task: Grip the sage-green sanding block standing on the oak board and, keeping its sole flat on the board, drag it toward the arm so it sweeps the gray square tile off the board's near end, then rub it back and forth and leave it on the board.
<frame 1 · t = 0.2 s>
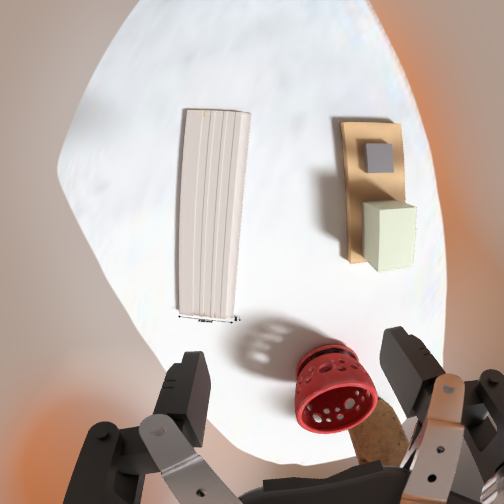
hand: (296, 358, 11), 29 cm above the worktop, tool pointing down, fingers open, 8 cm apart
sanding block: (379, 227, 37), point 1 cm above the worktop, touching oak board
baseboard: (216, 219, 39), on the worktop
plant pot: (323, 363, 47), on the worktop
oak board: (374, 191, 37), on the worktop
block: (366, 409, 53), on the worktop
gray square tile: (376, 157, 34), point 1 cm above the worktop, touching oak board
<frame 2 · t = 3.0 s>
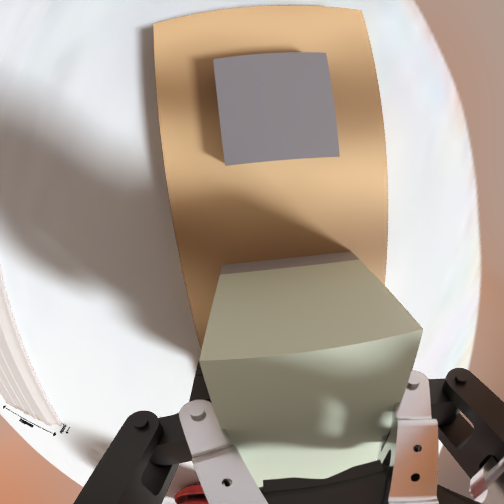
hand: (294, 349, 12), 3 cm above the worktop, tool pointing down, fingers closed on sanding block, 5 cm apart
sanding block: (292, 336, 13), point 1 cm above the worktop, touching gripper, oak board
plant pot: (223, 493, 23), on the worktop
oak board: (282, 226, 13), on the worktop
gray square tile: (274, 109, 10), point 1 cm above the worktop, touching oak board
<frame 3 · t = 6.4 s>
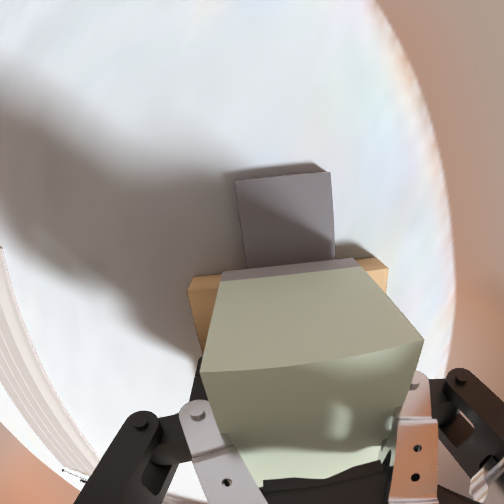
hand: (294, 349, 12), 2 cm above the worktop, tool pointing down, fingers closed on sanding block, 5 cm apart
sanding block: (293, 342, 13), point 2 cm above the worktop, touching gripper
baseboard: (43, 394, 19), on the worktop
oak board: (293, 405, 16), on the worktop
gray square tile: (285, 217, 13), on the worktop
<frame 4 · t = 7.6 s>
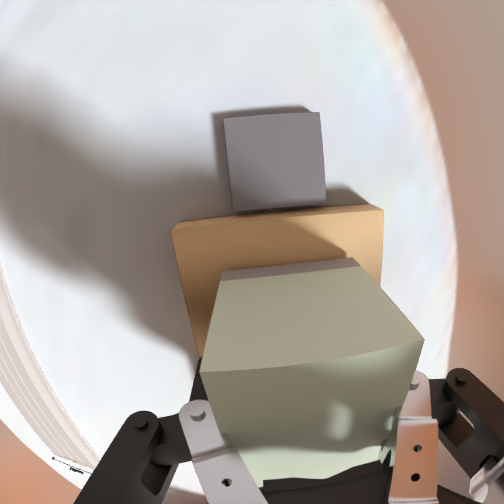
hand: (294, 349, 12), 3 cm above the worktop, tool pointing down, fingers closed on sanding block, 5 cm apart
sanding block: (293, 342, 13), point 2 cm above the worktop, touching gripper
baseboard: (28, 370, 18), on the worktop
oak board: (288, 376, 16), on the worktop
gray square tile: (274, 160, 12), on the worktop
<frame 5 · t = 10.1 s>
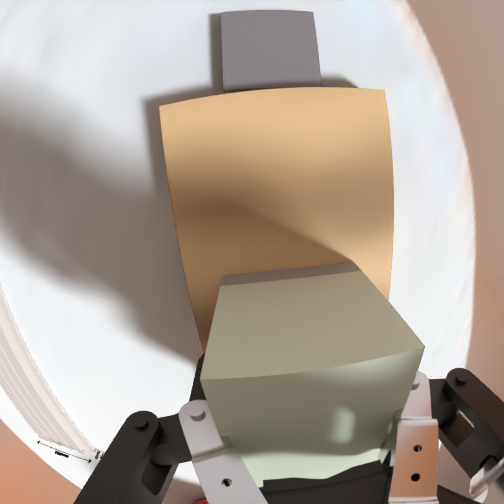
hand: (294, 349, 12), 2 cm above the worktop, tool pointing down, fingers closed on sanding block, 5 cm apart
sanding block: (293, 346, 13), point 2 cm above the worktop, touching gripper
baseboard: (4, 326, 16), on the worktop
oak board: (292, 309, 14), on the worktop
gray square tile: (268, 55, 10), on the worktop
when the fingers open (2 cm above the worktop, at t = 12.3 s): sanding block stays where it is, resting on oak board.
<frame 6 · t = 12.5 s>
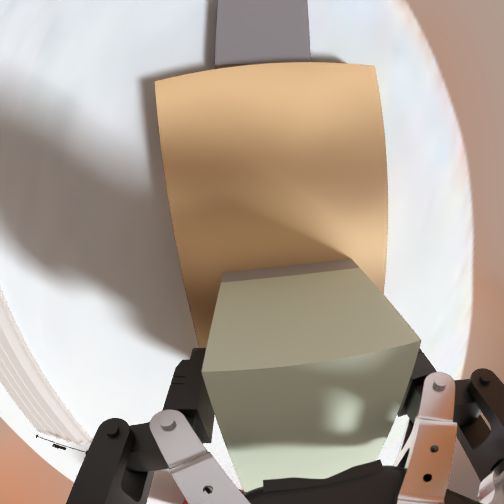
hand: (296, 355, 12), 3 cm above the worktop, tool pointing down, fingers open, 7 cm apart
sanding block: (292, 342, 13), point 1 cm above the worktop, touching oak board
oak board: (286, 286, 14), on the worktop
gray square tile: (262, 36, 10), on the worktop
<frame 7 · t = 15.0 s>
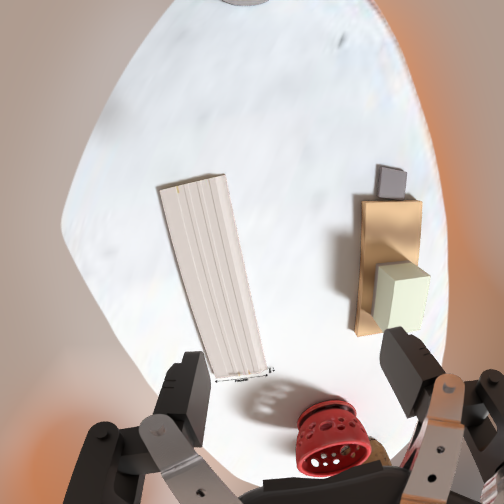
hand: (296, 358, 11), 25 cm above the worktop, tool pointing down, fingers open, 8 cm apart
sanding block: (390, 288, 37), point 1 cm above the worktop, touching oak board
baseboard: (224, 288, 39), on the worktop
plant pot: (323, 413, 47), on the worktop
oak board: (387, 269, 37), on the worktop
block: (360, 447, 52), on the worktop
gray square tile: (389, 183, 34), on the worktop
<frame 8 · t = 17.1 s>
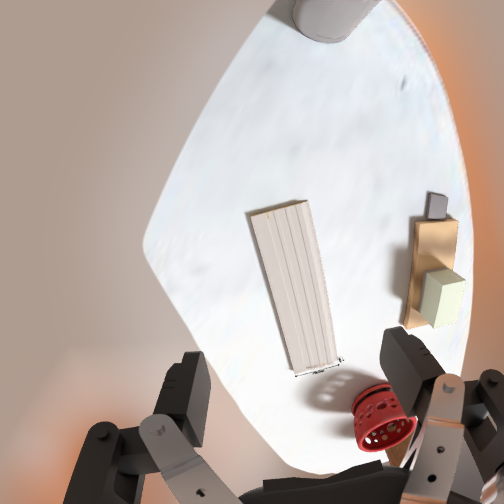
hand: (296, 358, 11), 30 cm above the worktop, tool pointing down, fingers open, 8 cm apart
sanding block: (432, 289, 42), point 1 cm above the worktop, touching oak board
baseboard: (305, 295, 45), on the worktop
plant pot: (372, 397, 53), on the worktop
oak board: (430, 274, 43), on the worktop
block: (396, 427, 59), on the worktop
gray square tile: (434, 206, 40), on the worktop
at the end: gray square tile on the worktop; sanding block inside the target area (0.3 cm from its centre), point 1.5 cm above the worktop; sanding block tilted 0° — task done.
